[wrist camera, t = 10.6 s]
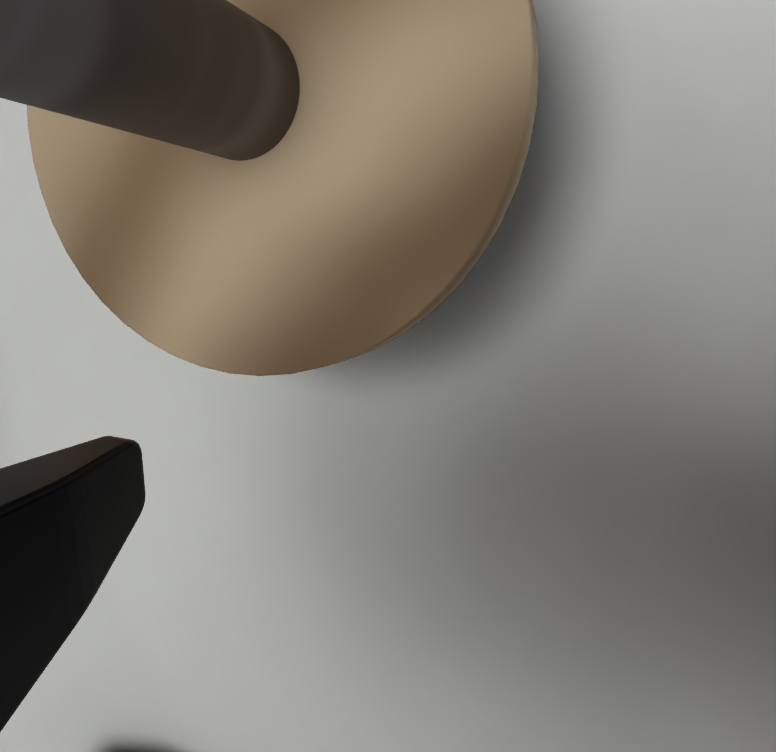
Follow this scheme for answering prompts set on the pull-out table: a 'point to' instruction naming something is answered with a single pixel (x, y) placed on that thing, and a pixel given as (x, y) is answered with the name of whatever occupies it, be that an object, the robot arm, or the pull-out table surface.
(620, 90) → the pull-out table surface
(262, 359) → the paper towel holder
